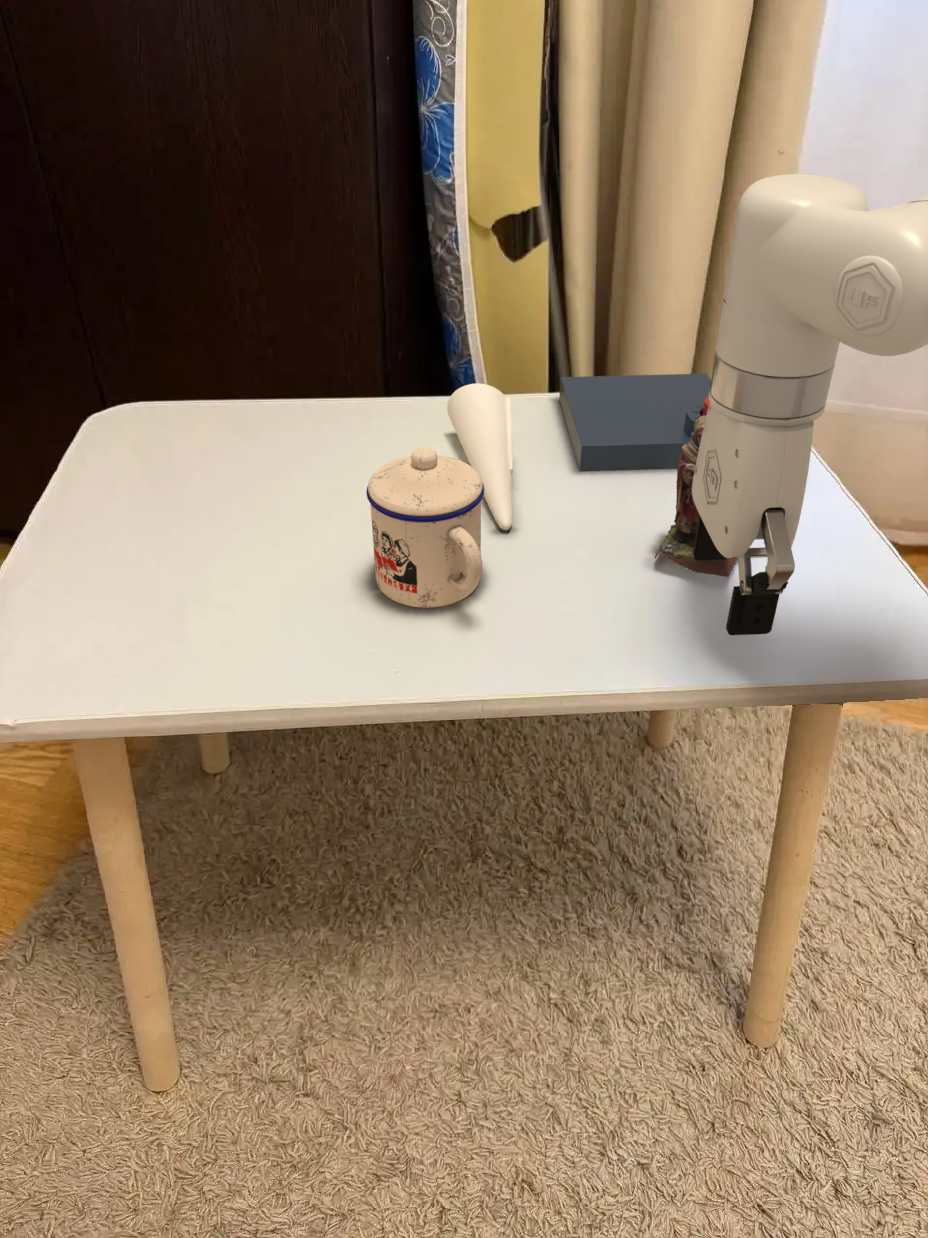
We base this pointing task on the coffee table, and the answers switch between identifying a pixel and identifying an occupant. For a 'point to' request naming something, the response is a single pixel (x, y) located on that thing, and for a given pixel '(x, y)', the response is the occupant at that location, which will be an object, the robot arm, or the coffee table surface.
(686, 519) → the figurine
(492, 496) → the long cone
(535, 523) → the coffee table surface
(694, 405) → the button box
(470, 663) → the coffee table surface
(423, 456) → the teacup with lid
